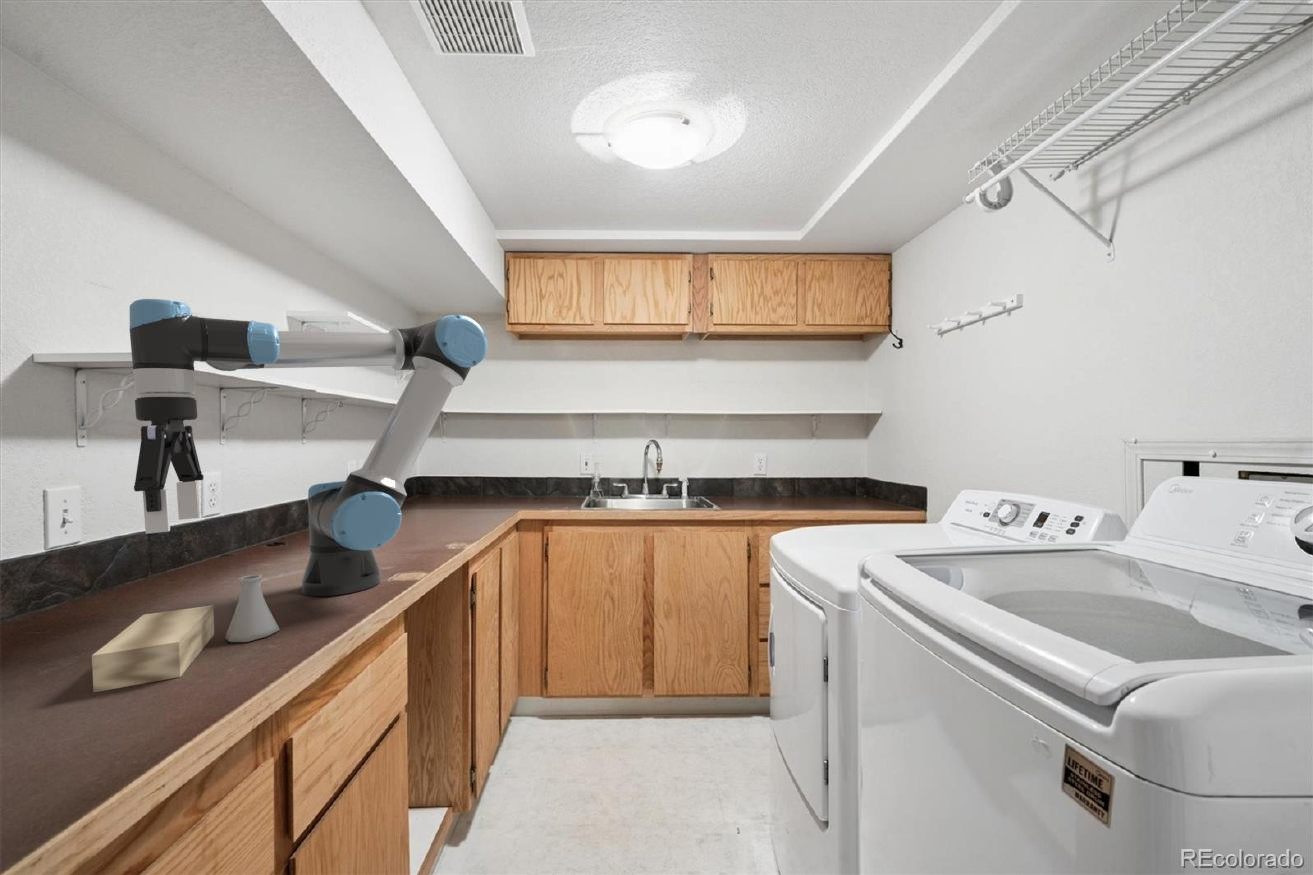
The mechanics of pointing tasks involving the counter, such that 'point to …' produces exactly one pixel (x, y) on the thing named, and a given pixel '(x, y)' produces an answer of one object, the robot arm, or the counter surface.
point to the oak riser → (153, 648)
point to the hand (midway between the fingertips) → (174, 525)
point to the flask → (251, 613)
